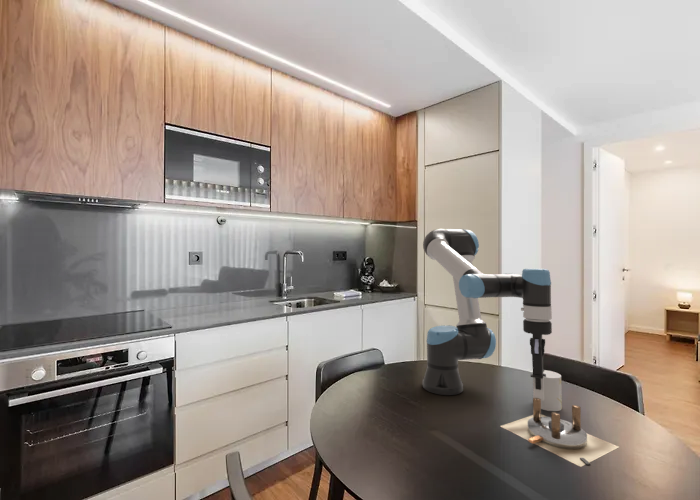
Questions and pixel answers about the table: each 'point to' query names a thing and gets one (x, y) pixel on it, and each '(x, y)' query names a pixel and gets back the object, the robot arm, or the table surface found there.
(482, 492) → the table surface
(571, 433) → the capstan wheel
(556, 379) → the cup
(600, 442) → the base board
